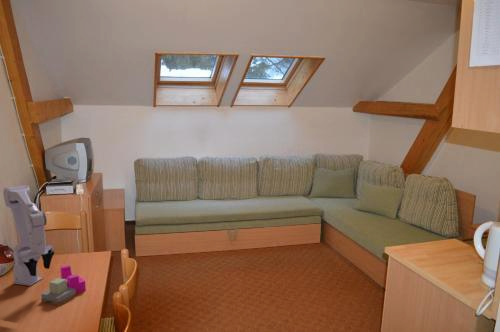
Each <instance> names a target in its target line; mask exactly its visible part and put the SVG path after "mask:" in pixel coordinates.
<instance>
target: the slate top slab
mask: <svg viewBox="0 0 500 332" xmlns="http://www.w3.org/2000/svg"><path fill="white" fill-rule="evenodd" d="M73 294H75V295H76V293H75V289H74V288H70V287H67V290H65V291H64V292H62V293H60V294H55V293H50V289H48V290H46V291H44V292H42V293H41V299H42V298H43V299H46V300H50V301H53V302H57V303H58V302H60V301H62V300H64V299H66V298H68V297H69V296H71V295H73Z"/></svg>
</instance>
